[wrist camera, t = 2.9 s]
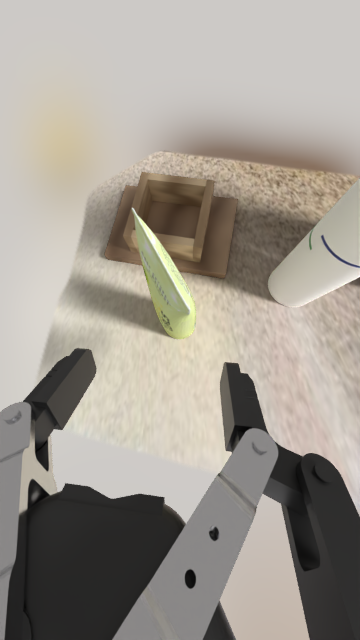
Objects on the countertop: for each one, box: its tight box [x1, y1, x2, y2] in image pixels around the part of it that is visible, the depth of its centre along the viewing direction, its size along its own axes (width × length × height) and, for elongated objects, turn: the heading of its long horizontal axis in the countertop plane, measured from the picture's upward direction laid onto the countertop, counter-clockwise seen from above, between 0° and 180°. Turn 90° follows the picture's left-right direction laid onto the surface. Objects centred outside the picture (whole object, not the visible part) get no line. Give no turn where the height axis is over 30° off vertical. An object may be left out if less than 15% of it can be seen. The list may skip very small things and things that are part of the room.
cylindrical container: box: [268, 178, 360, 307], centre depth 18 cm, size 7×7×25 cm
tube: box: [132, 208, 196, 339], centre depth 20 cm, size 6×5×20 cm
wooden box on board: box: [104, 172, 238, 278], centre depth 31 cm, size 20×14×6 cm
